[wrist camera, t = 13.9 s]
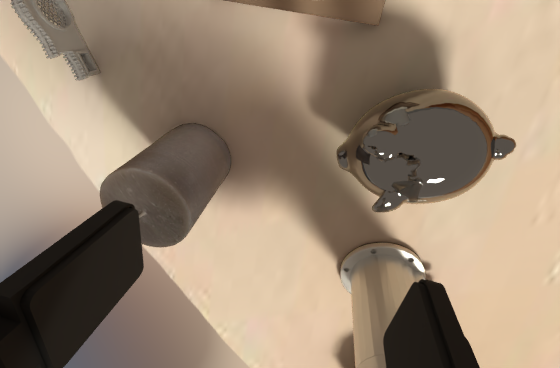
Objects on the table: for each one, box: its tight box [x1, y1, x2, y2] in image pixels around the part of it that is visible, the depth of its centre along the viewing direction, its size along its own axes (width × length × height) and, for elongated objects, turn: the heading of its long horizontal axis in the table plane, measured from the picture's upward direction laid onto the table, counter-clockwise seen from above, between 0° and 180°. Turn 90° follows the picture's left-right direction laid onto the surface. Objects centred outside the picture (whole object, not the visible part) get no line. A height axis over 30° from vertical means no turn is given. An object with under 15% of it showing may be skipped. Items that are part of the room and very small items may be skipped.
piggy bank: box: [337, 89, 516, 212], centre depth 29 cm, size 11×15×12 cm
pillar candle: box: [100, 124, 231, 247], centre depth 34 cm, size 10×10×15 cm
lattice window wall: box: [11, 0, 100, 80], centre depth 32 cm, size 12×2×6 cm, turn 15°
